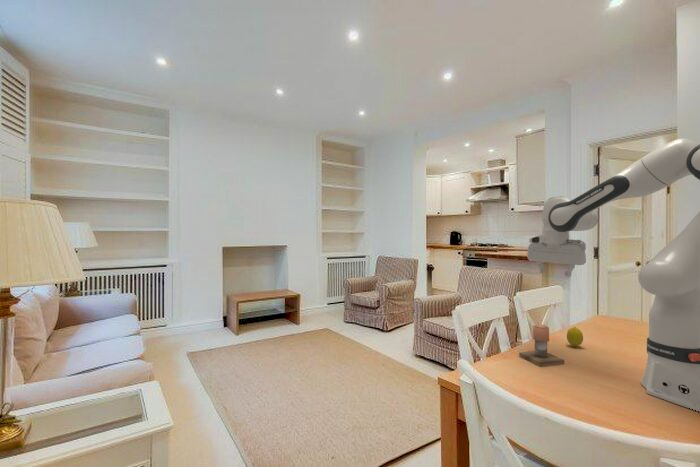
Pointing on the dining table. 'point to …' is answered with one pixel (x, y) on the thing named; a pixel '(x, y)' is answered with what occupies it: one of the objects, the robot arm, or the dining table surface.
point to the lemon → (574, 336)
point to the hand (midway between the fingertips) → (554, 274)
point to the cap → (541, 333)
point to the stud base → (541, 360)
